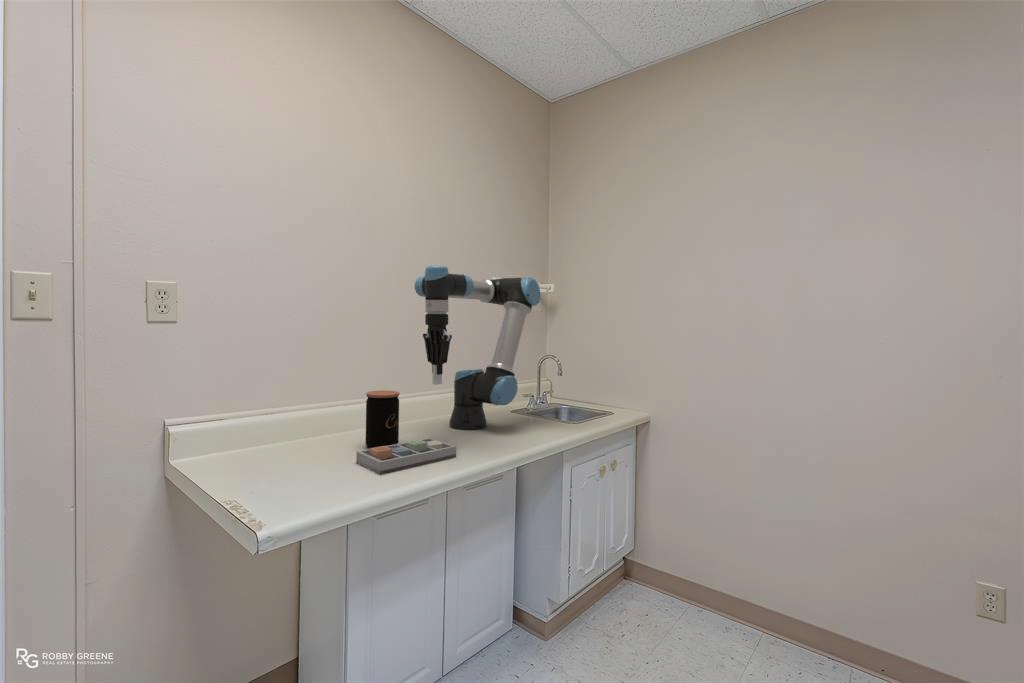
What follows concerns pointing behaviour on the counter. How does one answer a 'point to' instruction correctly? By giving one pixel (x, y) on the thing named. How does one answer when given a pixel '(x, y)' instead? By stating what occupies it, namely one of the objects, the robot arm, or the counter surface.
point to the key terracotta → (381, 452)
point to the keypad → (405, 458)
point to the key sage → (417, 445)
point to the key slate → (401, 451)
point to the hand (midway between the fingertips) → (437, 383)
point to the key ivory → (435, 444)
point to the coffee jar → (382, 418)
